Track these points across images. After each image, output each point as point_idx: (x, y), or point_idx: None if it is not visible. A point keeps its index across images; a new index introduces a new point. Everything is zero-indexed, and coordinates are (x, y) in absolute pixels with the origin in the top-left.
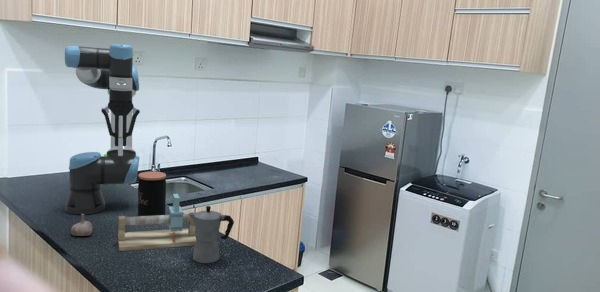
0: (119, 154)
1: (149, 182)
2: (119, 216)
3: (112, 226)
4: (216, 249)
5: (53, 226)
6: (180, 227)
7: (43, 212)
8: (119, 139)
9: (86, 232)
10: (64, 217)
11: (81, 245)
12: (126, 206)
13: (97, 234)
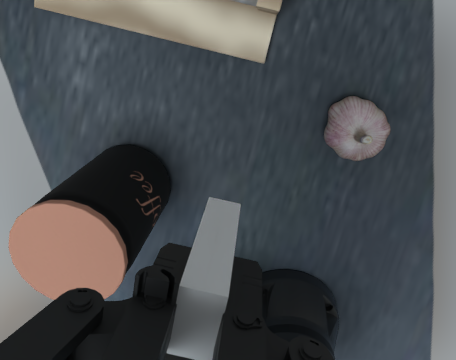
0: (231, 207)
1: (95, 206)
2: (277, 6)
3: (255, 155)
4: None
5: (400, 219)
6: None
7: (388, 325)
8: (219, 284)
9: (353, 96)
10: (352, 272)
11: (382, 36)
12: None
13: (312, 108)
